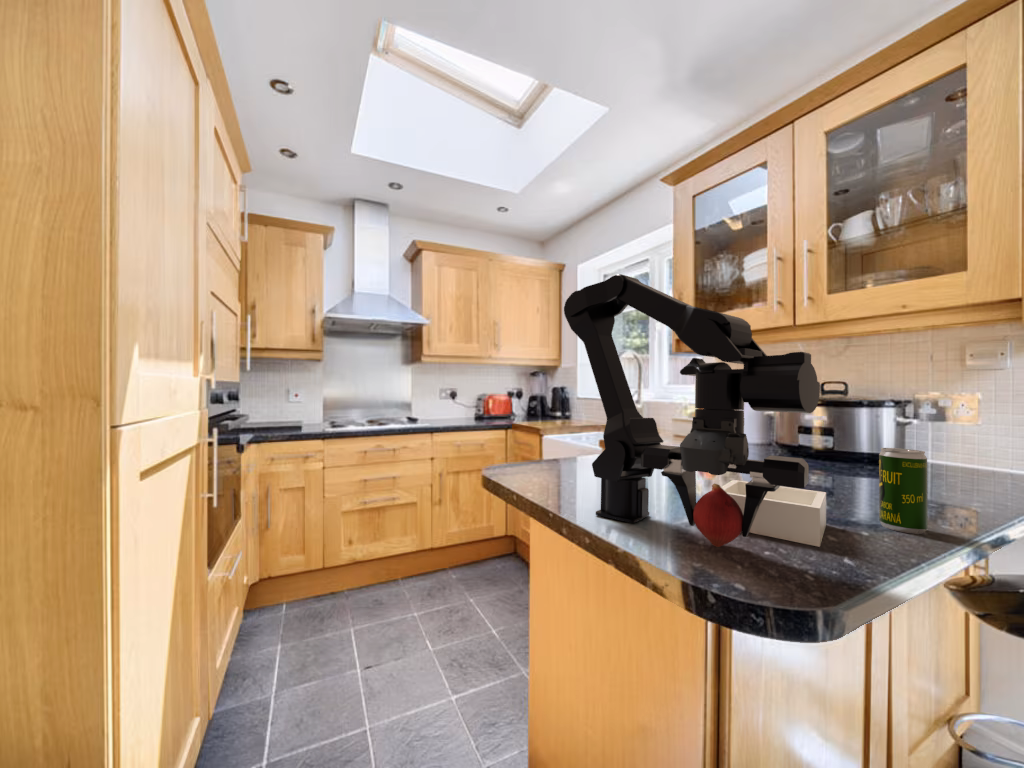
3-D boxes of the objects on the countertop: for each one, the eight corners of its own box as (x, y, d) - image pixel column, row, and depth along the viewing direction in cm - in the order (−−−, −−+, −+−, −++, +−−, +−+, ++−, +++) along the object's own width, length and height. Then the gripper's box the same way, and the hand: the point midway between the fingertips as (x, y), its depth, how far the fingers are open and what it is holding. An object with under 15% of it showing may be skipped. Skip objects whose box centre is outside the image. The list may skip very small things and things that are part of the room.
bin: (712, 524, 62) (713, 491, 62) (732, 508, 72) (733, 479, 72) (819, 546, 54) (819, 508, 54) (826, 524, 64) (826, 492, 64)
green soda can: (901, 523, 66) (901, 447, 66) (938, 534, 60) (937, 452, 61) (869, 523, 65) (869, 447, 66) (904, 534, 60) (903, 451, 60)
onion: (736, 541, 55) (737, 481, 55) (749, 557, 49) (749, 490, 50) (690, 536, 56) (690, 478, 57) (697, 551, 51) (697, 486, 51)
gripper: (624, 407, 53) (622, 528, 53) (799, 414, 41) (798, 571, 41) (656, 407, 62) (655, 511, 61) (809, 412, 50) (808, 542, 49)
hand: (717, 530), depth 53 cm, fingers closed on onion, 6 cm apart
